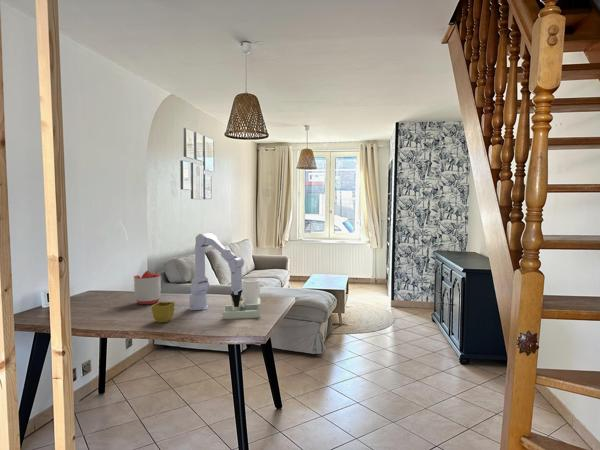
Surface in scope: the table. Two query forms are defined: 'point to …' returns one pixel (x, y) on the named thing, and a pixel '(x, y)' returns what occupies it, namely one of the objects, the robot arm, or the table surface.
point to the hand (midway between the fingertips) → (236, 305)
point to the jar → (251, 290)
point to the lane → (250, 312)
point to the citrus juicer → (147, 288)
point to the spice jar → (237, 307)
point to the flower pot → (163, 311)
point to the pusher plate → (244, 306)
